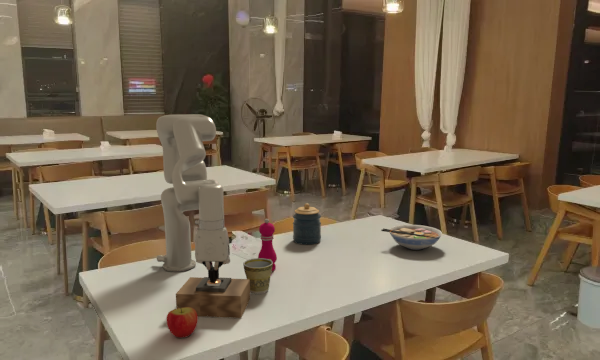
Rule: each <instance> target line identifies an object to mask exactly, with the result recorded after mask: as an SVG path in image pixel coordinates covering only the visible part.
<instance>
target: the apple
mask: <svg viewBox="0 0 600 360" xmlns="http://www.w3.org/2000/svg"><path fill="white" fill-rule="evenodd" d="M177 305H178V306H179V307H180V305H179V304H177ZM198 319H199V317H198V316H197V312H196V311H195V309H193V308H191V307H184V308H181V307H180V308H178V309H176V308H174V309H172V310H170V311H168V313H167V315H166V326H167V329H168V330H169V332H170V333H171V334H172V335H173V336H174V337H176V338H180V339H182V338H187V337H189V336H190V335H192V334H194V332H195V330H196V328H197V326H198V323H199V321H198Z"/></svg>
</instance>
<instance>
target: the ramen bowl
mask: <svg viewBox="0 0 600 360" xmlns="http://www.w3.org/2000/svg"><path fill="white" fill-rule="evenodd" d="M380 232H387V233H389V234H390V236H391V237H392V239H393V241H394V242H396V244H398V245H400V246H402V247H404V248H406V249H408V250H412V251H416V250H417V251H419V250H422V249H426V248H429V247H432V246H433V245H435V244H436V243H437V242H438V241H439V240H440V239H441V237H442V235H443V232H442V231H441V230H440V229H438V228H436V227H432V226H427V225H421V224H401V225H395V226H392V227H390V228H389V229H388V228H382V229H381V230H380Z"/></svg>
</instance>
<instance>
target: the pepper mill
mask: <svg viewBox="0 0 600 360" xmlns="http://www.w3.org/2000/svg"><path fill="white" fill-rule="evenodd" d="M275 230H276V227H275V225H274V224H273V223H271V222H270V219H269V218H265V219H264V222H263V223H261V224H260V226H259V228H258V232H259V234H260V240H261V248H260V251H259V252H258V256H257V258H264V259H271V260H272V262H273V265H272V272H274V271H275V270H276V269H277V268H276V266H277V265H276V262H277V260H278V256H277V253H276V250H275V249H274V245H273V240H274V238H275V237H274V236H275V235H274V234H275V232H276V231H275Z"/></svg>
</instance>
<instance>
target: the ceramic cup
mask: <svg viewBox="0 0 600 360" xmlns="http://www.w3.org/2000/svg"><path fill="white" fill-rule="evenodd" d="M272 265H273V262H272V260H271V259H264V258H258V257H257V258H250V259H246V260H245V261H243V269H244V274H245V276H246V278H245V279H250V294H253V295H264V294H266V293H268V292H269V289H270V288H269V287H270V282H271V277H272V272H273V271H272Z"/></svg>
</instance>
